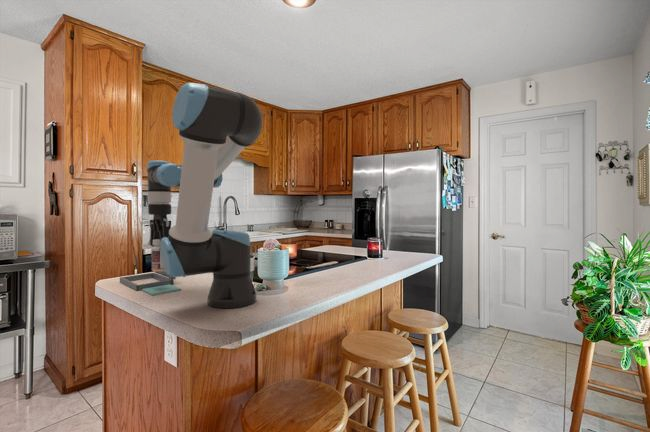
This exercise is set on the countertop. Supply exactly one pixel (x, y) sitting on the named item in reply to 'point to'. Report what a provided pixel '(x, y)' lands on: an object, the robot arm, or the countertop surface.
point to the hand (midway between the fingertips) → (161, 266)
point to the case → (137, 287)
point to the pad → (161, 289)
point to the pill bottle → (156, 256)
